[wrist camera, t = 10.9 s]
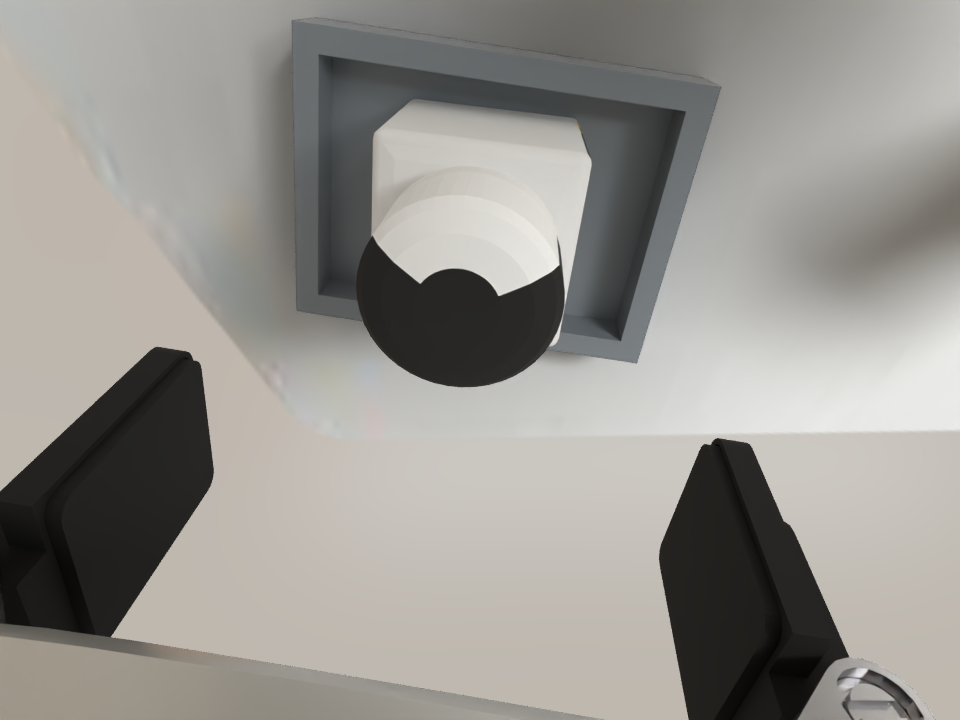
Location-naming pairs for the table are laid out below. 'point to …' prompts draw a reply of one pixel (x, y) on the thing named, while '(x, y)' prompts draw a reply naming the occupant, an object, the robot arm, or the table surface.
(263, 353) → the table surface
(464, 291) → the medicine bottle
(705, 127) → the tray
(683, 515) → the robot arm
